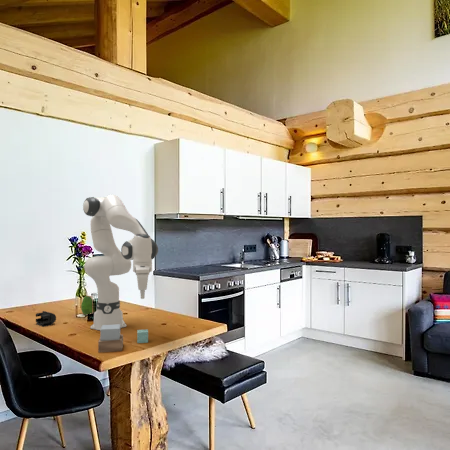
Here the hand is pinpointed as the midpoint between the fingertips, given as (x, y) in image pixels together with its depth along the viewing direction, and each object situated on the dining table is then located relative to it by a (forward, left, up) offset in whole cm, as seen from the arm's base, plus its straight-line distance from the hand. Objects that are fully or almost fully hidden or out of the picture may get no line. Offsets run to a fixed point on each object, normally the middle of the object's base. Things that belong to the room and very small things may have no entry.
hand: (142, 296), depth 188 cm
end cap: (-45, -53, -22) cm, 73 cm away
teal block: (0, 0, -21) cm, 21 cm away
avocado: (-65, -33, -21) cm, 76 cm away
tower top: (+8, -14, -17) cm, 23 cm away
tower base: (+8, -14, -22) cm, 27 cm away
